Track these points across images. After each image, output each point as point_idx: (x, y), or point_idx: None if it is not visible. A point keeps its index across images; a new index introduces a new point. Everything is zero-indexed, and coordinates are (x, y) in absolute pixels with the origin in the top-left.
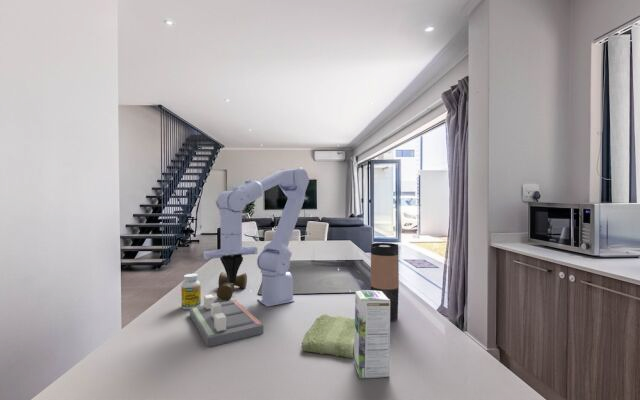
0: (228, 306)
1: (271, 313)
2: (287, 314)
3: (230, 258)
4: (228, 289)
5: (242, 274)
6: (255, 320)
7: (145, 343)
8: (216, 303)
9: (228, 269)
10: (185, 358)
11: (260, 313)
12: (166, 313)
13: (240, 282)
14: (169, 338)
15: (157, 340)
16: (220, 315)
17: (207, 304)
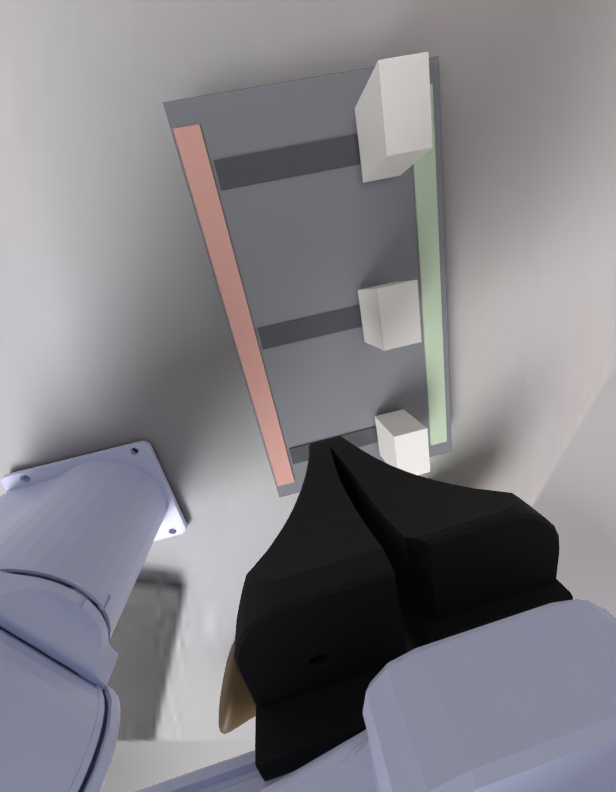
0: (315, 427)
1: (128, 364)
2: (44, 326)
3: (447, 622)
4: None
5: (237, 720)
6: (203, 189)
7: (585, 235)
8: (395, 336)
9: (407, 474)
10: (501, 10)
11: (180, 379)
12: (497, 471)
13: None
14: (519, 247)
15: (552, 246)
16: (404, 106)
17: (408, 418)
